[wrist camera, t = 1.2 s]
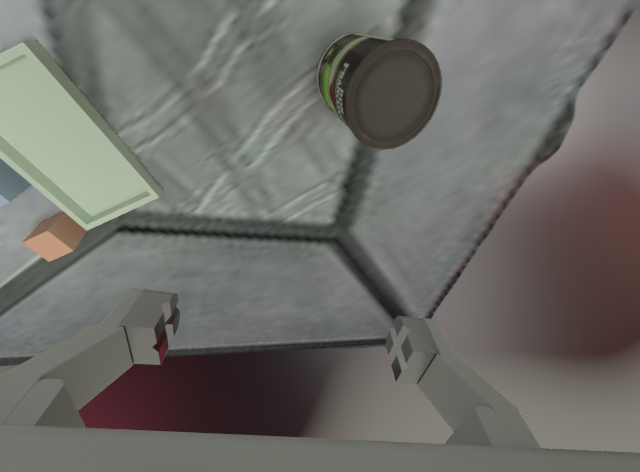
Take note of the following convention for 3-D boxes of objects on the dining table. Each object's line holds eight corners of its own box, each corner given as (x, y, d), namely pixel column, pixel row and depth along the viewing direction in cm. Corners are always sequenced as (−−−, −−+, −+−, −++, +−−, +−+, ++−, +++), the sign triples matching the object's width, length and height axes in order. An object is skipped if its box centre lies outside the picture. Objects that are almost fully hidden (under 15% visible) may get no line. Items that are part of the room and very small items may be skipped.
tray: (-58, 87, 32) (-78, 92, 30) (36, 40, 31) (23, 41, 29) (93, 220, 44) (86, 230, 42) (163, 188, 44) (159, 197, 42)
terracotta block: (41, 222, 43) (21, 242, 39) (64, 211, 43) (47, 230, 39) (65, 240, 45) (49, 261, 42) (87, 230, 45) (73, 250, 41)
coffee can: (319, 120, 43) (346, 156, 32) (313, 36, 37) (344, 45, 26) (385, 111, 44) (433, 142, 33) (390, 28, 38) (451, 33, 27)
